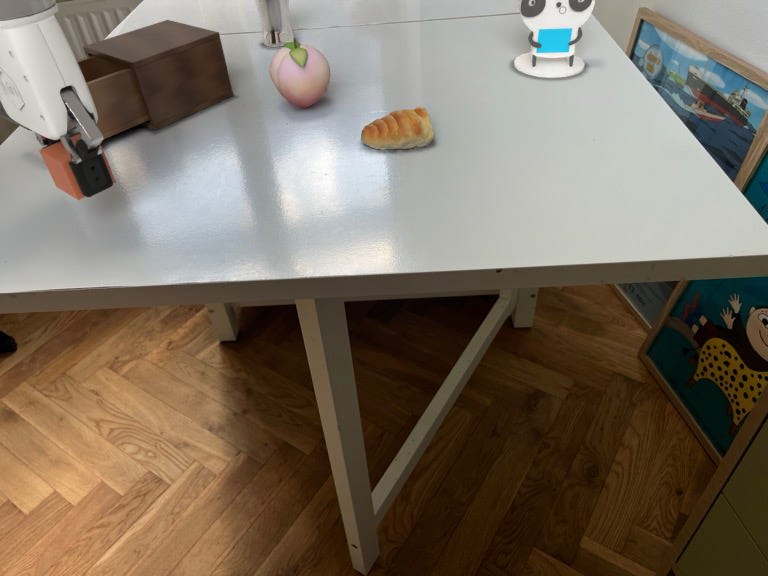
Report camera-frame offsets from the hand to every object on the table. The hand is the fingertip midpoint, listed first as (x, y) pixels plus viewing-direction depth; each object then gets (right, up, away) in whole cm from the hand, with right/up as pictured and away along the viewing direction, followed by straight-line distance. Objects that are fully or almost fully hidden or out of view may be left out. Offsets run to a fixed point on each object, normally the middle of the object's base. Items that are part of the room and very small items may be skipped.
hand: (85, 181), depth 59 cm
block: (0, 0, 0) cm, 0 cm away
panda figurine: (+59, +26, +33) cm, 72 cm away
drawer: (-9, +11, +19) cm, 24 cm away
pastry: (+34, +8, +15) cm, 38 cm away
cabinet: (-1, +18, +27) cm, 33 cm away
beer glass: (+12, +36, +48) cm, 61 cm away
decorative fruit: (+20, +16, +24) cm, 35 cm away
